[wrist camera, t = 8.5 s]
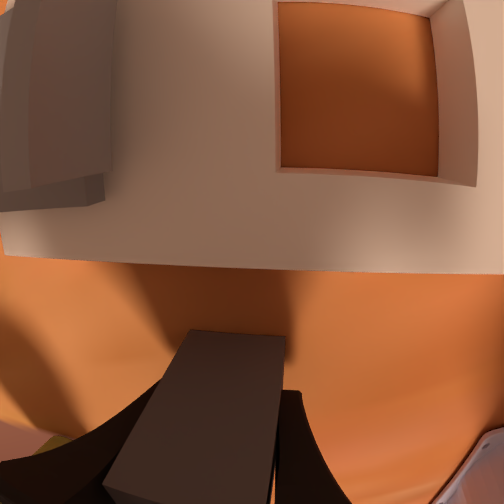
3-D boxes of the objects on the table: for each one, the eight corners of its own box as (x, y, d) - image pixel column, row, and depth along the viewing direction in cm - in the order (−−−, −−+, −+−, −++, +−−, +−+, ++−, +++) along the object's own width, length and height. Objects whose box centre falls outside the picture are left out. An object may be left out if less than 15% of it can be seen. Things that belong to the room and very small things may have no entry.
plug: (281, 412, 12) (255, 594, 5) (200, 404, 13) (136, 568, 5) (285, 336, 11) (254, 569, 3) (189, 329, 12) (81, 522, 4)
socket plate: (507, 249, 9) (545, 273, 6) (46, 236, 11) (4, 255, 9) (497, -5, 6) (530, -26, 3) (46, 11, 8) (8, -3, 6)
